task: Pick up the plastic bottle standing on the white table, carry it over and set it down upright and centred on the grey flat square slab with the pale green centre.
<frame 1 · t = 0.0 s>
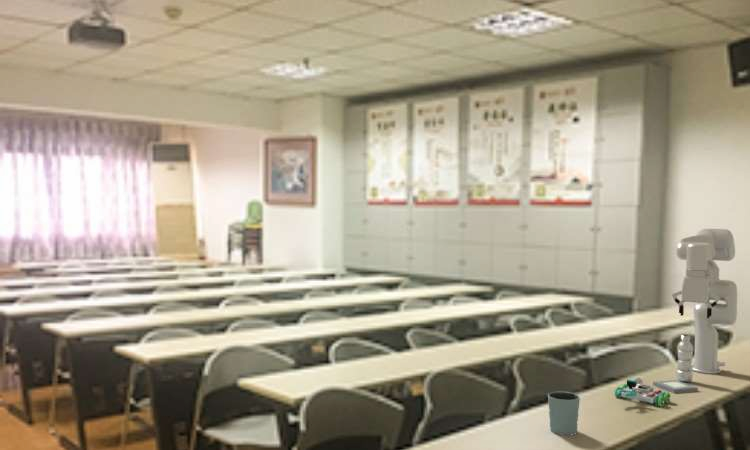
hand: (695, 316, 264), 31 cm above the table, tool pointing down, fingers open, 9 cm apart
grey blue cup: (562, 431, 217), on the table
plastic bottle: (684, 381, 284), on the table
robot kit: (637, 403, 252), on the table
grey flat square slab: (675, 388, 272), on the table
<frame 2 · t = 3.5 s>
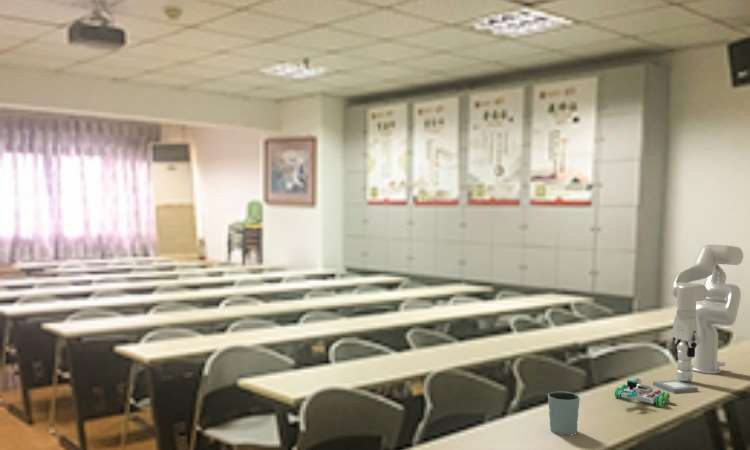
hand: (684, 354, 283), 12 cm above the table, tool pointing down, fingers closed on plastic bottle, 6 cm apart
plastic bottle: (684, 381, 284), on the table, touching gripper
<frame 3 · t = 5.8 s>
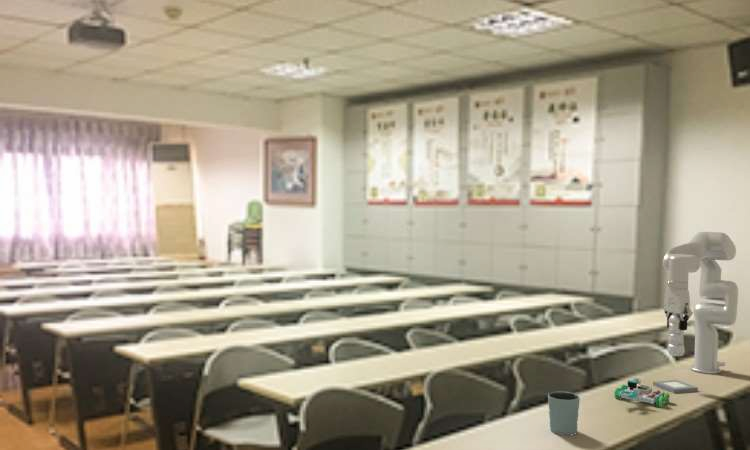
hand: (676, 328, 272), 25 cm above the table, tool pointing down, fingers closed on plastic bottle, 6 cm apart
plastic bottle: (676, 356, 272), point 13 cm above the table, touching gripper
when the fingers open (14 cm above the table, at t = 8.3 s): plastic bottle stays where it is, resting on grey flat square slab.
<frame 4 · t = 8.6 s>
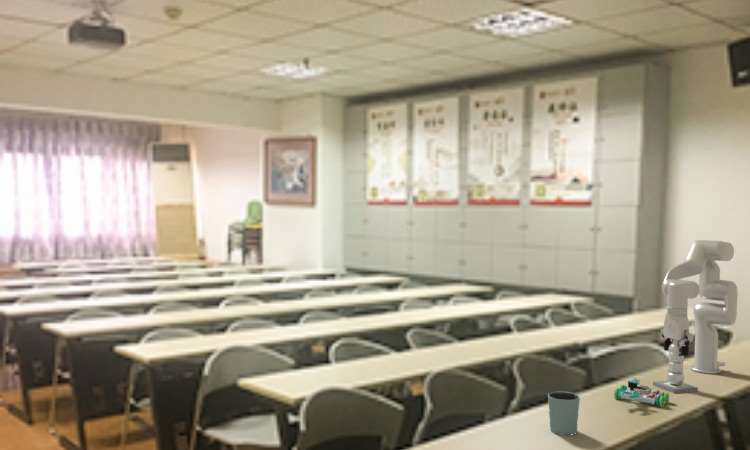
hand: (676, 352, 272), 15 cm above the table, tool pointing down, fingers open, 9 cm apart
plastic bottle: (675, 384, 273), point 1 cm above the table, touching grey flat square slab
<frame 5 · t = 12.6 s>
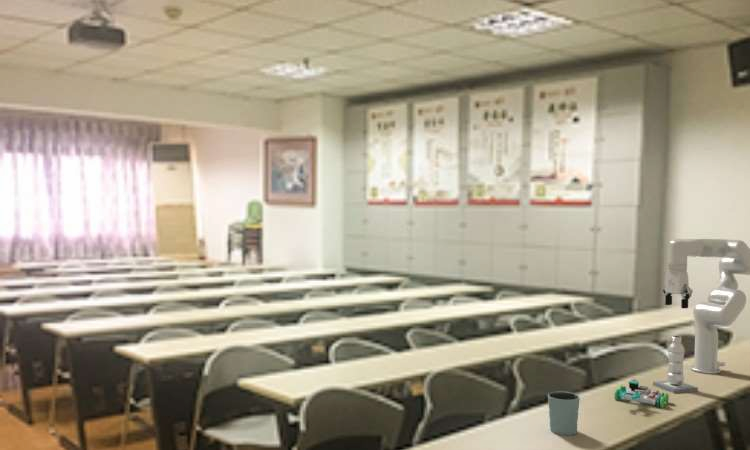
hand: (676, 306, 291), 31 cm above the table, tool pointing down, fingers open, 9 cm apart
at the end: plastic bottle inside the target area on the grey flat square slab (0.2 cm from its centre), point 1.3 cm above the grey flat square slab's base; plastic bottle tilted 0°; the gripper is holding nothing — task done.
